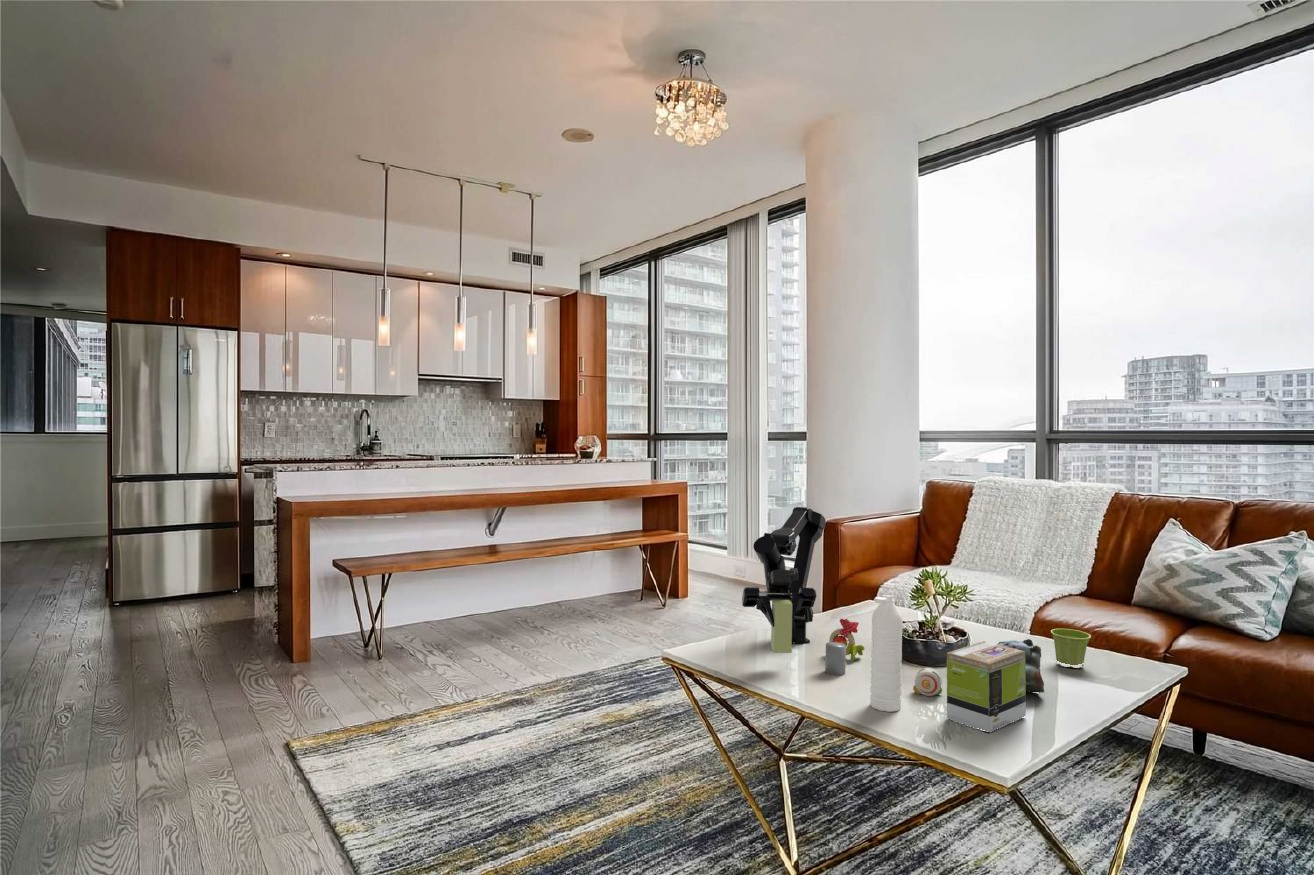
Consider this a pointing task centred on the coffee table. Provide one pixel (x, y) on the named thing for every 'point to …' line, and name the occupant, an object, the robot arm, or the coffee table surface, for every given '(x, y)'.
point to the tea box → (986, 685)
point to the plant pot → (1070, 645)
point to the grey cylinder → (835, 658)
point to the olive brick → (781, 626)
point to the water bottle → (886, 655)
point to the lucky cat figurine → (1029, 663)
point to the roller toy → (928, 682)
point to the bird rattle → (847, 632)
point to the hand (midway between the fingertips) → (782, 626)
